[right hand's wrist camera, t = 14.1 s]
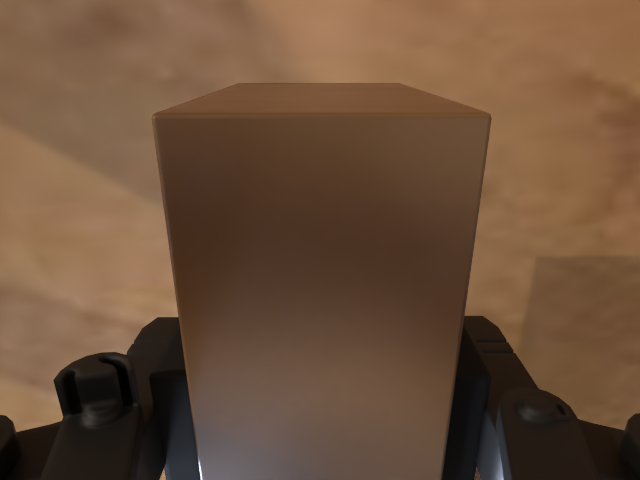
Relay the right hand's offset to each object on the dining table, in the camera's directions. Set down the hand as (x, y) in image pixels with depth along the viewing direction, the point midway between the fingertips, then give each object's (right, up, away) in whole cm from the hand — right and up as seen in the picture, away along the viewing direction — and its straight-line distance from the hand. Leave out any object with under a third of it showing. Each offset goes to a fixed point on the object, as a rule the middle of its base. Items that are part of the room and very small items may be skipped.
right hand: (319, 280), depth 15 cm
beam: (0, -18, +8) cm, 20 cm away
